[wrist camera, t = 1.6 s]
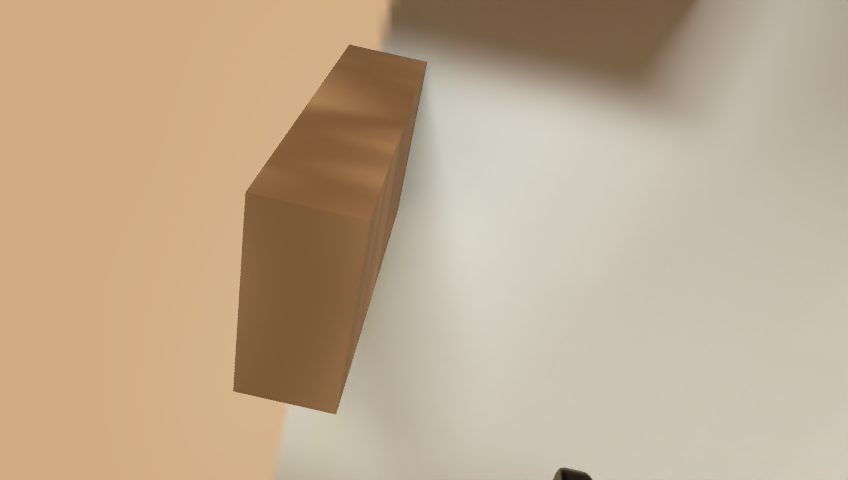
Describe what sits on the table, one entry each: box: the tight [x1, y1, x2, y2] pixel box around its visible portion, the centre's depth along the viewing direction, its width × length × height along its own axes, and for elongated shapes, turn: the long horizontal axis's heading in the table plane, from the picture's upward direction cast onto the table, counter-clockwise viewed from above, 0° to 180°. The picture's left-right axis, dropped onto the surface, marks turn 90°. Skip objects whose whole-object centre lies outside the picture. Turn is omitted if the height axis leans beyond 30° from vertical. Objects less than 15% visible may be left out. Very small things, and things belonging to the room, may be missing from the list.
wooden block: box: [233, 45, 427, 414], centre depth 16 cm, size 2×4×8 cm, turn 169°
